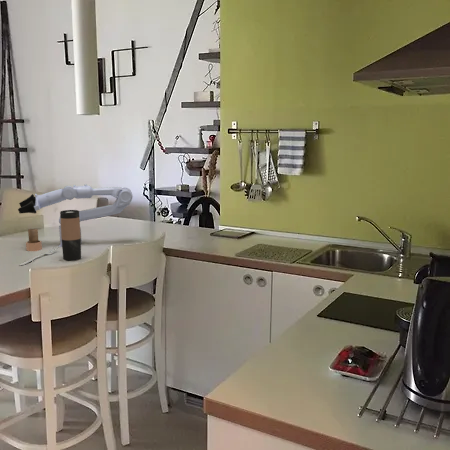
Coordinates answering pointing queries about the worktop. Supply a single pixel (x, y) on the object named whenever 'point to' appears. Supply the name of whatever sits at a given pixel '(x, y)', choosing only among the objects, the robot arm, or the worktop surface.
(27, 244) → the cup
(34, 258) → the fork
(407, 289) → the worktop surface
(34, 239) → the peg
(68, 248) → the travel mug
